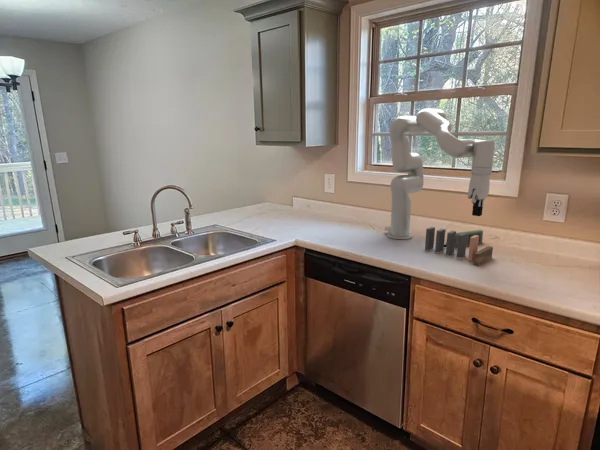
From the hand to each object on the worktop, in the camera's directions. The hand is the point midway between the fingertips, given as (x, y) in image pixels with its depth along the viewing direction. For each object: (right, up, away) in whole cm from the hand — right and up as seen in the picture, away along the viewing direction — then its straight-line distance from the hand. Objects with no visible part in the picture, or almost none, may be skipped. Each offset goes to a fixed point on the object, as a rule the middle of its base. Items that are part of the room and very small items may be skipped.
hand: (476, 215), depth 163 cm
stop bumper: (+3, -19, +2) cm, 20 cm away
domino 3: (-7, -17, +12) cm, 22 cm away
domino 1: (-14, -15, +19) cm, 28 cm away
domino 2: (-10, -16, +15) cm, 24 cm away
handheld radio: (+3, -14, +24) cm, 28 cm away
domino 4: (-3, -18, +8) cm, 20 cm away
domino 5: (0, -19, +5) cm, 19 cm away
